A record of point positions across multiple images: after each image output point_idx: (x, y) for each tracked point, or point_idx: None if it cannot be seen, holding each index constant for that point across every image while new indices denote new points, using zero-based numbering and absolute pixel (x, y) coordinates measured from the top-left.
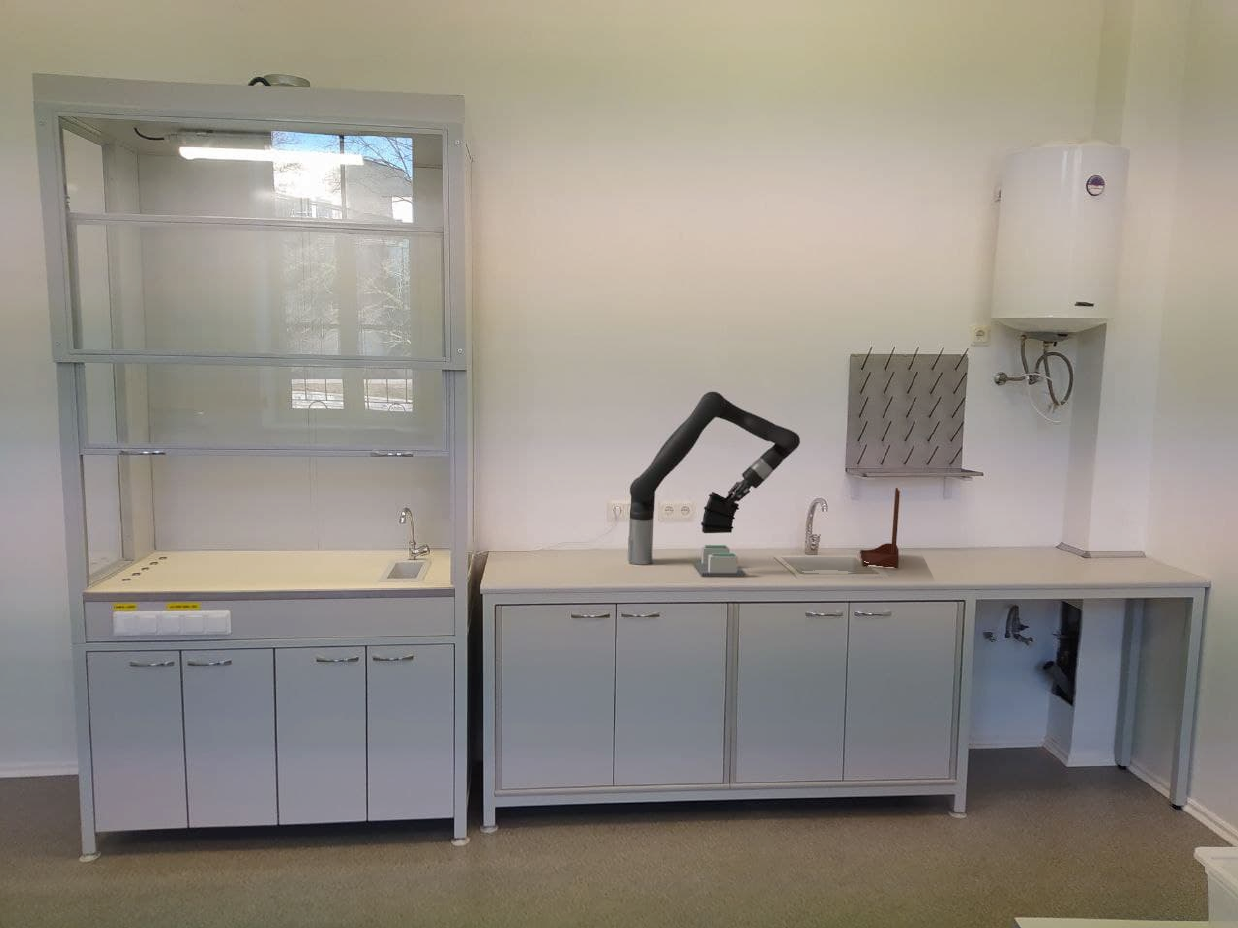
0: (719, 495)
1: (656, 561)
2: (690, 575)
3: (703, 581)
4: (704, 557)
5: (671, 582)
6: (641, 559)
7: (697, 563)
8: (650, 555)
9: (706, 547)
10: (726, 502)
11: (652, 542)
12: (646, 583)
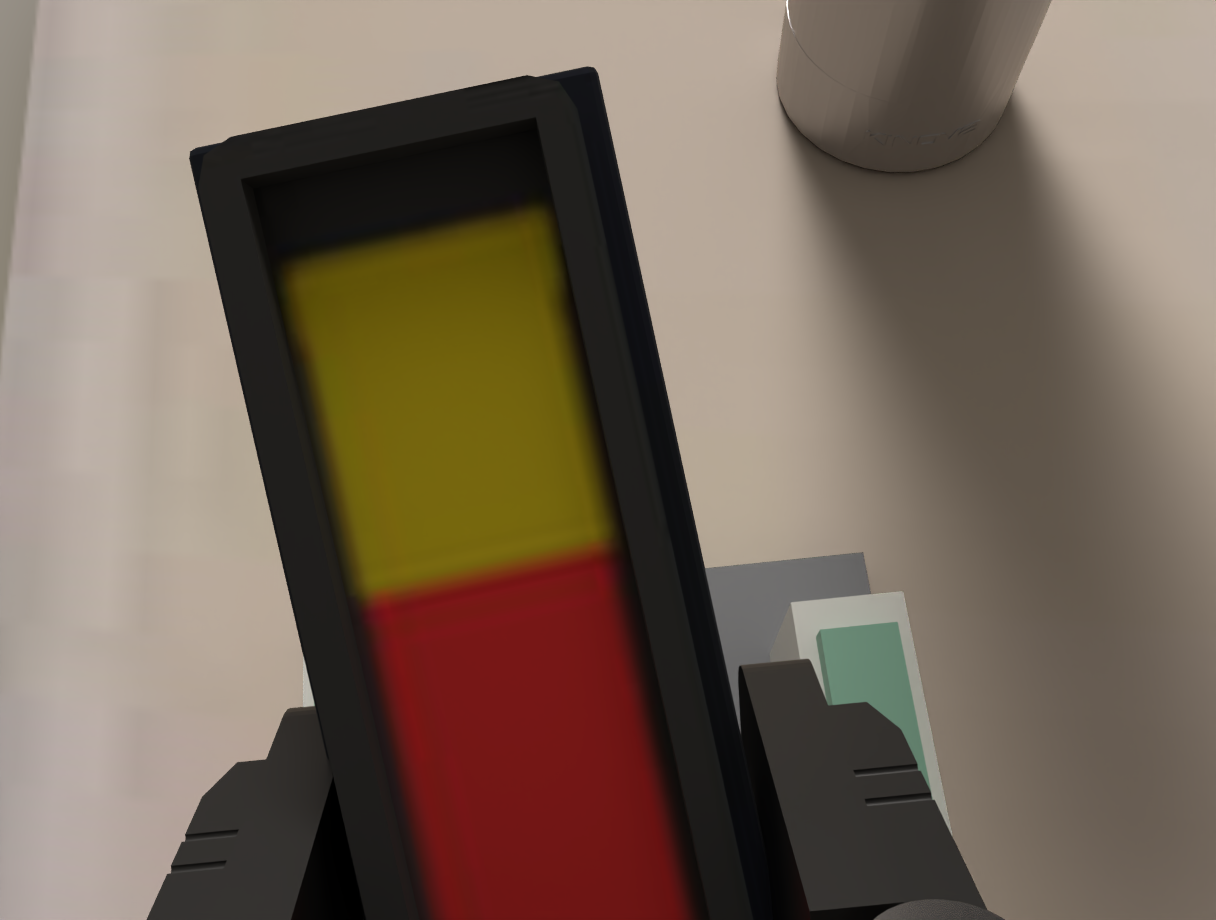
0: (251, 402)
1: (960, 214)
2: None
3: (177, 621)
4: (778, 650)
5: (152, 323)
6: (782, 52)
7: (787, 592)
8: (848, 103)
9: (819, 642)
10: (264, 777)
11: (918, 18)
12: (129, 133)
